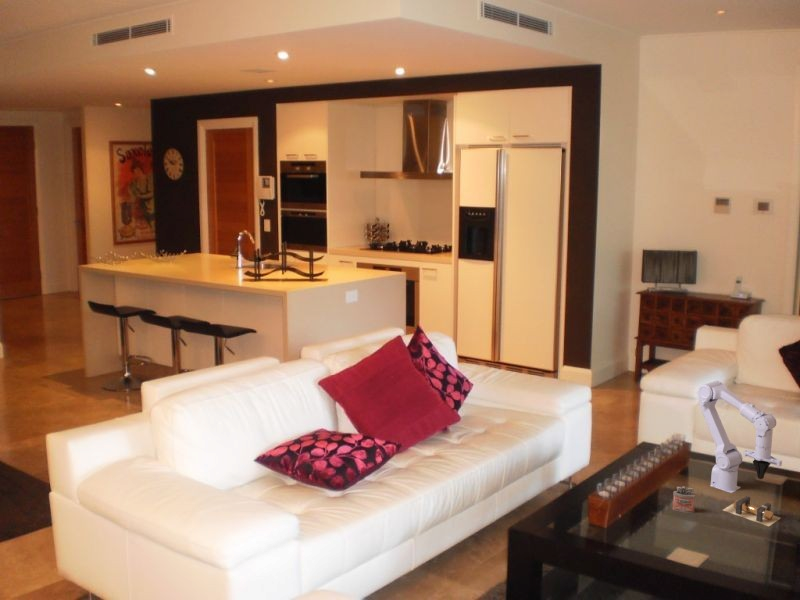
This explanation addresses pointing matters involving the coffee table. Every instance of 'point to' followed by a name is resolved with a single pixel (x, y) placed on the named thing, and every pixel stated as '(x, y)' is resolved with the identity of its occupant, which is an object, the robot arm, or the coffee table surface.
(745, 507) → the tube
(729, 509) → the board
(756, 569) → the coffee table surface
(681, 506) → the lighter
